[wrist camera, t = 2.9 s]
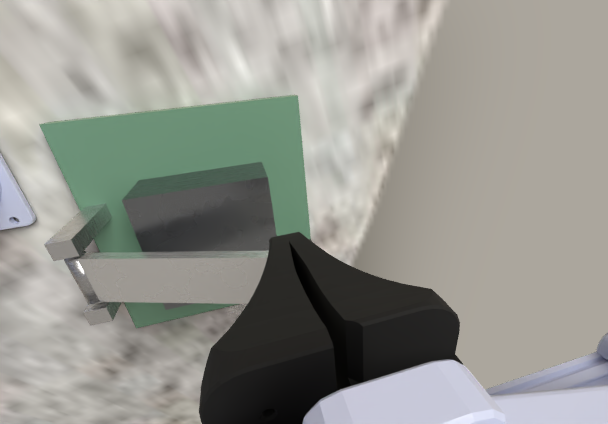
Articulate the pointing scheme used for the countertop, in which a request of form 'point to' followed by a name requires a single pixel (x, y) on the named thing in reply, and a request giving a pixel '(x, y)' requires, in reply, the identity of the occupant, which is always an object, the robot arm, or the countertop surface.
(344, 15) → the countertop surface
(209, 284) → the retention strap
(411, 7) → the countertop surface
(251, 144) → the board
